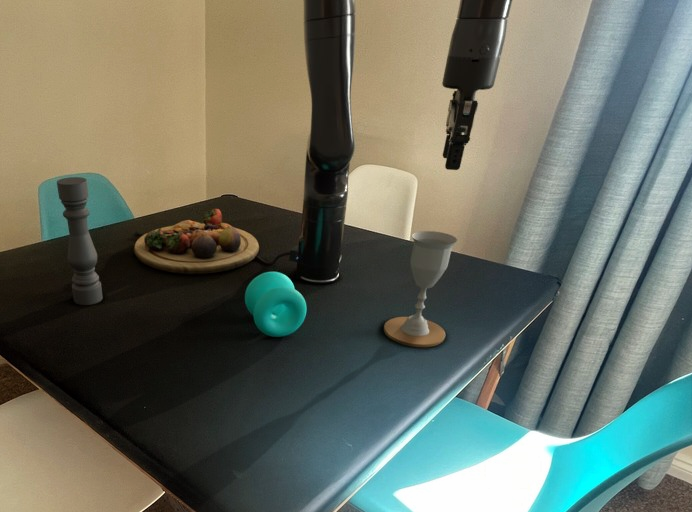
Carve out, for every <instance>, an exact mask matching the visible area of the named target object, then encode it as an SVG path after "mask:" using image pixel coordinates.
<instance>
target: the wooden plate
mask: <svg viewBox="0 0 692 512" xmlns="http://www.w3.org/2000/svg"><path fill="white" fill-rule="evenodd" d="M222 220H223V215H222V212H221V210H220V209H219V208H213V209H210V212H208V211H205V213H204V216H203V217H202V220H201V222H202V223H201V222H199V221H193V220H190V219H187V220H182V221H179V222H178V223H175V224H174V225H169V226H163V227H161V228H156V229H153V230H151V231H148V232H147V233H144V235H143V236H139V238H138V239H137V240H136V241H135V243H134V247H133V252H134V255H135V256H136V258H137V259H138V260H139V261H140V262H141V263H142V264H144V265H145V266H148V267H151V268H153V269H156V270H160V271H163V272H168V273H173V274H185V275H204V274H205V275H207V274H213V273H214V274H215V273H216V274H217V273H222V272H225V271H230V270H233V269H237V268H240V267H243V266H244V265H246V264H248V263H250V262H251V261H252V260H254V259H255V256H256V255H257V256H258V253H259V251H260V245H259V242H258V240H257V238H256V237H254V235H253V234H251V233H249V232H247V231H245V230H242V229H240V228H237V227H234V226H232V225H231V224H229V223H226V222H223V221H222Z"/></svg>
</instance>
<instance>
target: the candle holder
mask: <svg viewBox="0 0 692 512" xmlns="http://www.w3.org/2000/svg"><path fill="white" fill-rule="evenodd" d="M56 188H57V194H58V199H59V200H60V203H61V204H62V205H63V207H64V209H65V210H64V211H63V212H62V216H63V218H65V220H66V221H67V229H68V245H67V247H68V248H67V259H66V260H67V263H68V265H69V266H70V267H71V268H72V269H73V270H72V271H73V272H74V274H73V276H72V277H71V283H72V284H71V291H72V292H71V293H72V297H73V298H72V299H73V302H74V303H75V304H77V305H80V306H91V305H94V304H98V303H100V302H101V301H102V300H103V298H104V297H103V296H104V295H103V288H102V282H101V281H100V275H98V273H97V272H96V271H95V270H96V267H95V266H96V265H97V264H98V263H97V262H98V253H97V250H96V248H95V245H94V242H93V240H92V237H91V233H90V231H89V224H88V217H89V215H90V210H89V209H88V208H86V207H87V203H88V199H89V188H88V180H87V178H85V177H79V176H72V177H71V176H70V177H63V178H60V179H58V180H56Z"/></svg>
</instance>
